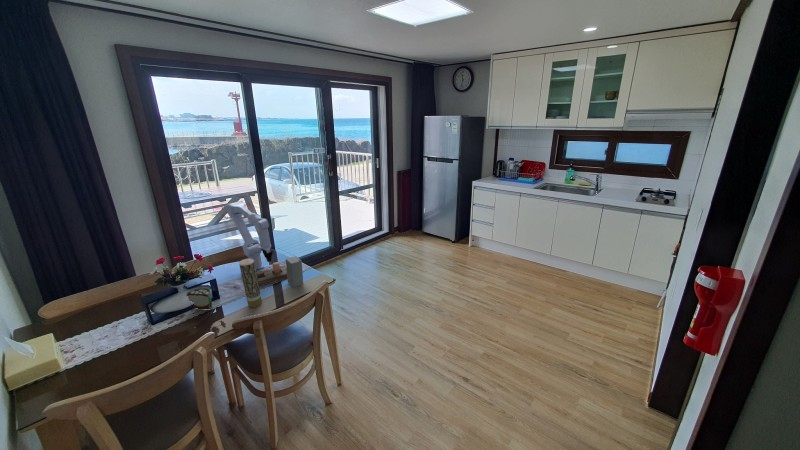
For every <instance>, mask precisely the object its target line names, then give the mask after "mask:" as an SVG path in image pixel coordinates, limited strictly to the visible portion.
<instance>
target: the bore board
mask: <svg viewBox="0 0 800 450" xmlns="http://www.w3.org/2000/svg"><path fill="white" fill-rule="evenodd" d="M280 270H281V273H278V274H274V271H273V267H272V268H269V269H265V270H261V271H256V273H257V278H258V283H259V287H260V286H264V285H268V284H271V283H274V282H278V281H281V280H286V279H287V268H286V264H284V265H280Z"/></svg>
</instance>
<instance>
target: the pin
mask: <svg viewBox="0 0 800 450" xmlns="http://www.w3.org/2000/svg"><path fill="white" fill-rule="evenodd" d="M280 266H281V265H280V262H278V261H276V262H273V263H272V268H273V271H274V274H278V273H281V270H280Z"/></svg>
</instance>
